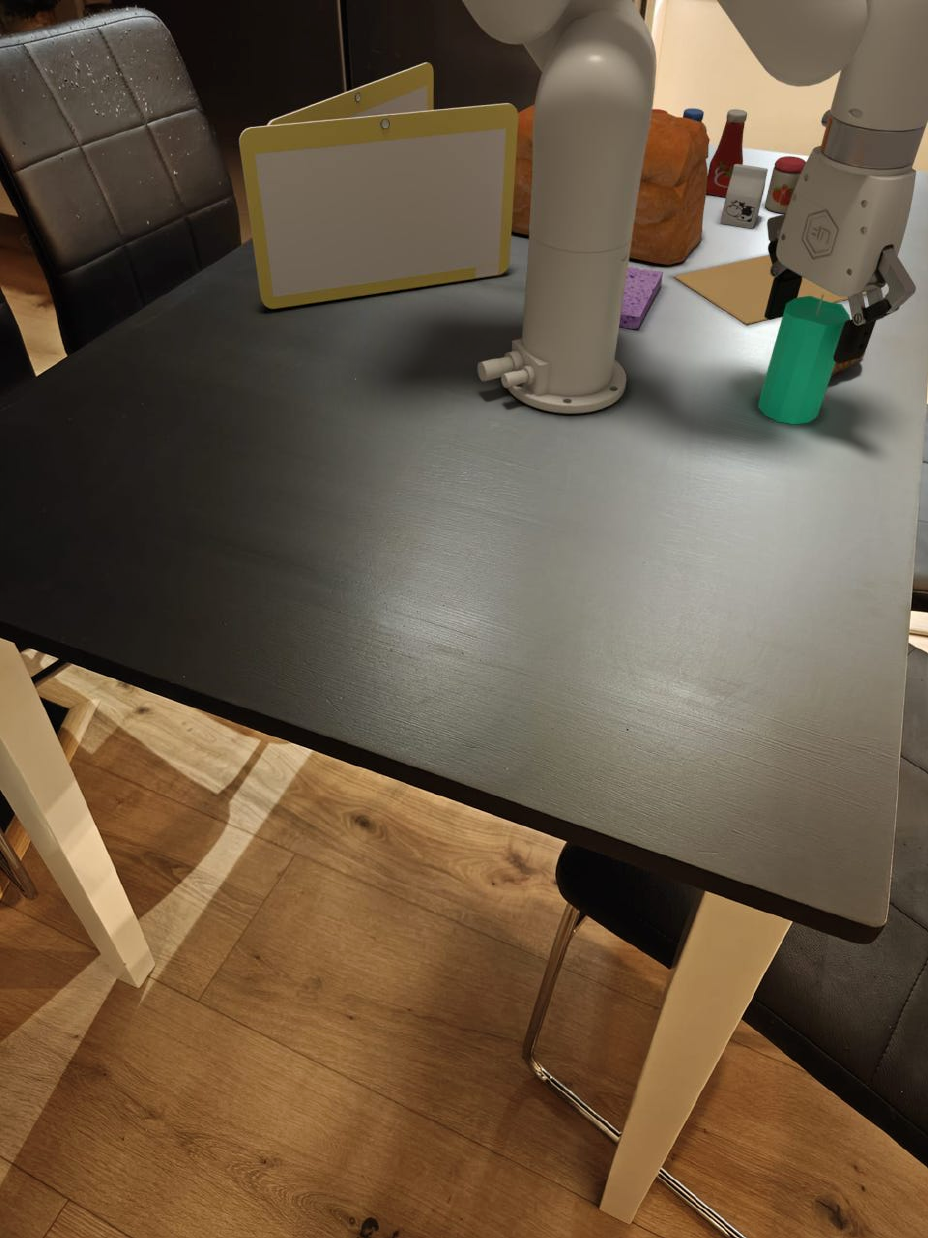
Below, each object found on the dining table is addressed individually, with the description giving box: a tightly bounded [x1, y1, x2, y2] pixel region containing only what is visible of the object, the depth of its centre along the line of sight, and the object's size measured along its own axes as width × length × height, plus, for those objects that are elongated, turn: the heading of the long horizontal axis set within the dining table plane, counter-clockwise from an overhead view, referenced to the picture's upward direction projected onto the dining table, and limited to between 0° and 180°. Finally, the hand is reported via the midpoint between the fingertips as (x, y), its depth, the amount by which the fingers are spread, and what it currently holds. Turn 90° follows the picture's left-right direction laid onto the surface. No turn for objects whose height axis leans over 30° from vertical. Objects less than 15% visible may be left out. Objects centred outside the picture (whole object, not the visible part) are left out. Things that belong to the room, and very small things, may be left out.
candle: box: [757, 294, 851, 425], centre depth 87 cm, size 6×6×12 cm
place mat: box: [673, 254, 867, 326], centre depth 112 cm, size 20×14×1 cm
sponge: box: [619, 266, 664, 330], centre depth 107 cm, size 7×13×2 cm, turn 159°
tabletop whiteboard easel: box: [238, 61, 519, 310], centre depth 105 cm, size 35×22×20 cm, turn 149°
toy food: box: [652, 107, 807, 229], centre depth 126 cm, size 27×13×12 cm, turn 67°
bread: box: [511, 102, 711, 266], centre depth 118 cm, size 14×27×15 cm, turn 63°
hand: (811, 336), depth 86 cm, fingers open, 9 cm apart
